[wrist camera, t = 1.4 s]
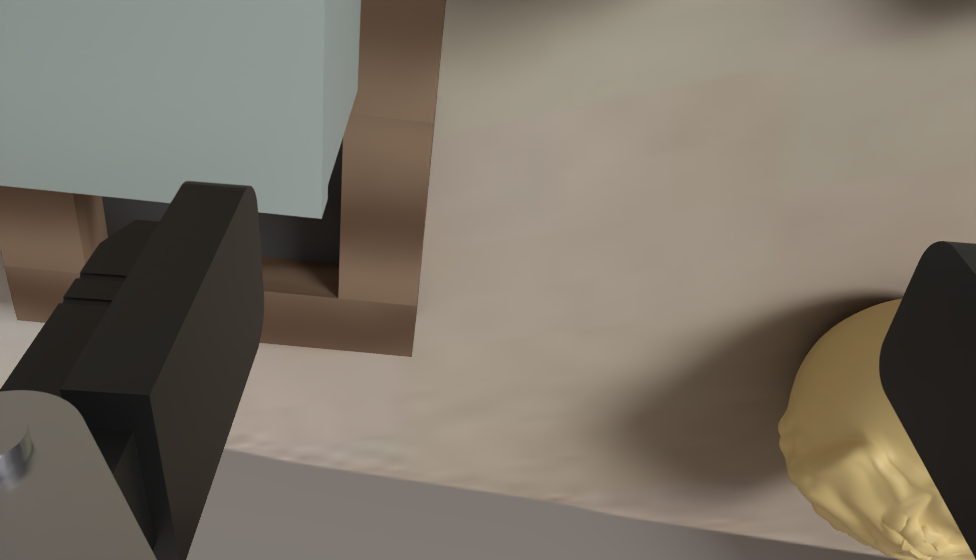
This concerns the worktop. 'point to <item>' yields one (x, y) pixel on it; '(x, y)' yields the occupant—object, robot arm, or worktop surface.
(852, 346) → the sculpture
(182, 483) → the robot arm
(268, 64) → the tunnel
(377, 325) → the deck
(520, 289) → the worktop surface
